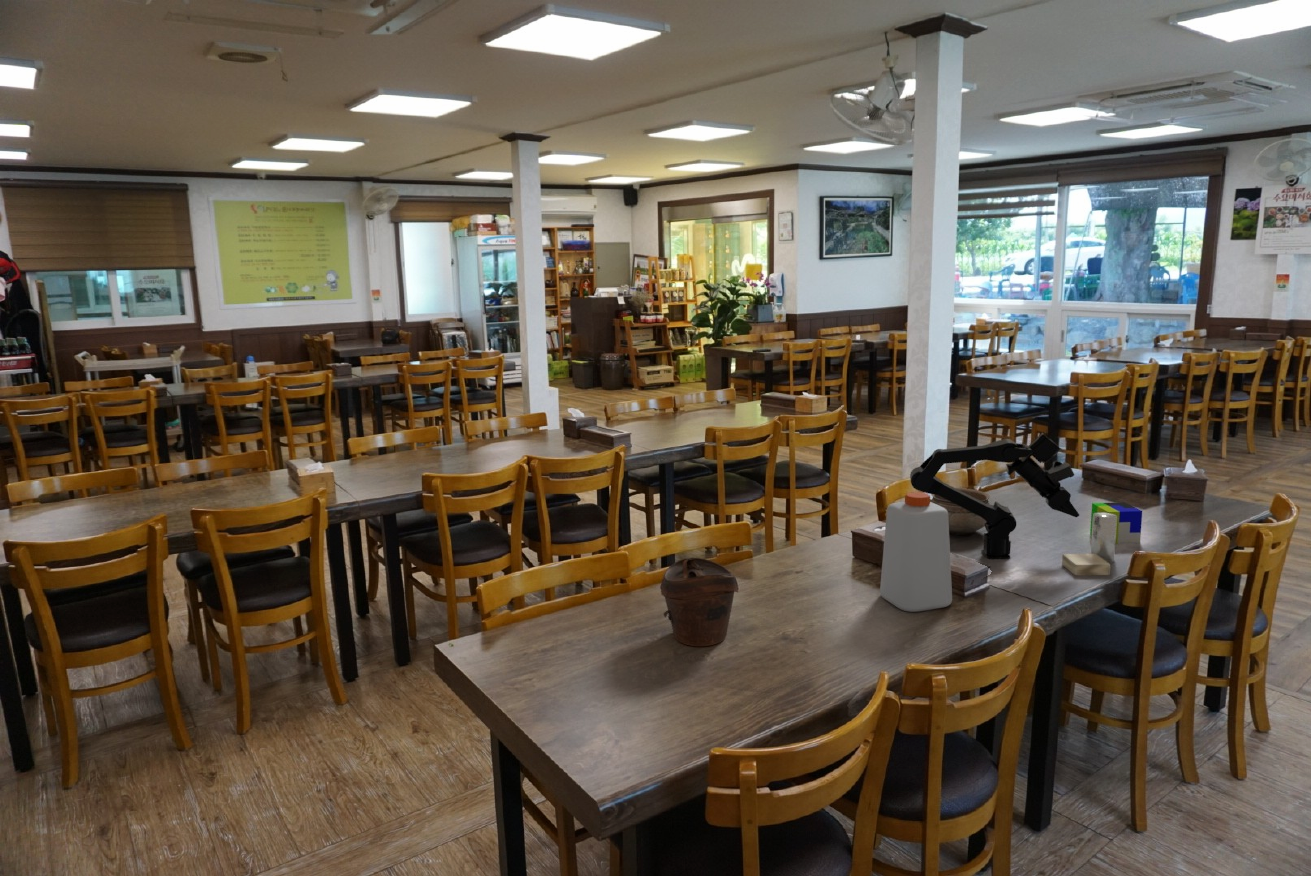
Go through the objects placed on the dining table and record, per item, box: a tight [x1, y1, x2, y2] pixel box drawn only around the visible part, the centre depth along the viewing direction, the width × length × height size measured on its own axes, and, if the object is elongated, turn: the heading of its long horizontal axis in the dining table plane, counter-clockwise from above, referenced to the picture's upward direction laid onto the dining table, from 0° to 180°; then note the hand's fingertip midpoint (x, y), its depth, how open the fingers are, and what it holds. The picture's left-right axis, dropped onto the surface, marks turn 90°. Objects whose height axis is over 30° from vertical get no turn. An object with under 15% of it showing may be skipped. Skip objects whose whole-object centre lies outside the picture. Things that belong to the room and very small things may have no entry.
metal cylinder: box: [1090, 513, 1117, 564], centre depth 240 cm, size 6×6×13 cm
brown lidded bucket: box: [659, 556, 740, 647], centre depth 200 cm, size 18×20×18 cm
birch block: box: [1061, 553, 1111, 576], centre depth 234 cm, size 9×9×3 cm
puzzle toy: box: [1089, 501, 1143, 545], centre depth 258 cm, size 10×10×10 cm
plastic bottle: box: [879, 491, 953, 613], centre depth 215 cm, size 15×15×28 cm
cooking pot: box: [930, 487, 991, 536], centre depth 270 cm, size 25×19×12 cm
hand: (1074, 511), depth 241 cm, fingers open, 9 cm apart
